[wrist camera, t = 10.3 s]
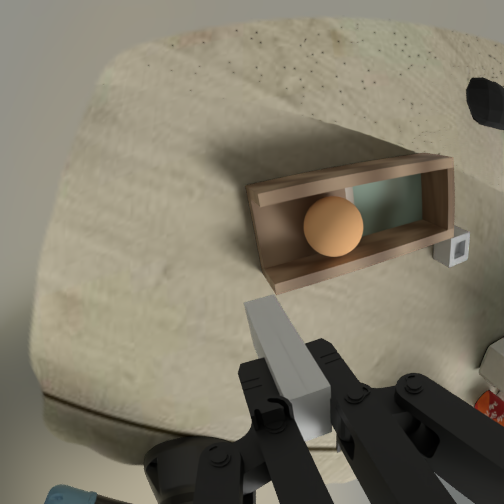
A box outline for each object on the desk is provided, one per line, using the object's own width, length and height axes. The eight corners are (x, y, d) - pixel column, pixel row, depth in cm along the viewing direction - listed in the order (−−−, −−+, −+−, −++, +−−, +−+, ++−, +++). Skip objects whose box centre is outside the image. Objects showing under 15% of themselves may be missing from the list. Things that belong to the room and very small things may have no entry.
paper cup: (478, 393, 53) (514, 429, 40) (497, 382, 55) (531, 414, 42) (467, 416, 56) (498, 450, 43) (485, 404, 57) (516, 435, 45)
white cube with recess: (433, 258, 35) (449, 267, 32) (434, 231, 34) (451, 238, 31) (452, 251, 35) (467, 259, 33) (453, 224, 34) (469, 231, 31)
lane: (262, 273, 30) (276, 294, 26) (245, 185, 27) (257, 194, 23) (427, 225, 33) (453, 237, 29) (424, 152, 30) (453, 157, 26)
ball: (296, 261, 27) (349, 271, 24) (287, 204, 25) (344, 208, 22) (325, 239, 30) (373, 246, 27) (319, 188, 28) (370, 190, 25)
